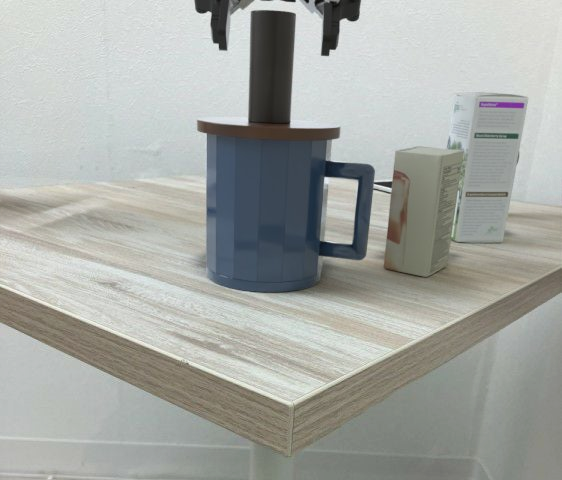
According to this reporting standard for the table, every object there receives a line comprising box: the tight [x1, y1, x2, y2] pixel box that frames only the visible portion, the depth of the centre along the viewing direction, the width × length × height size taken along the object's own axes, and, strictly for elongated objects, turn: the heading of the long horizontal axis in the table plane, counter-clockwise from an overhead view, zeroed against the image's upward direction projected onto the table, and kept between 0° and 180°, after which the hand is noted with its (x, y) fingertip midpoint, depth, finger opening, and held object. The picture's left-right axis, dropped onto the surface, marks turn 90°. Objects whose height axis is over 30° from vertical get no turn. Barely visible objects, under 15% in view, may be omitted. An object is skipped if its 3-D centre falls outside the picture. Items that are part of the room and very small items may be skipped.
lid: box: [196, 9, 342, 141], centre depth 47 cm, size 11×11×8 cm
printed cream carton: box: [383, 146, 464, 278], centre depth 55 cm, size 5×4×10 cm
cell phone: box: [373, 178, 393, 194], centre depth 97 cm, size 8×16×1 cm, turn 31°
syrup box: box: [446, 91, 529, 244], centre depth 68 cm, size 6×6×14 cm
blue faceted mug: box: [205, 133, 376, 293], centre depth 50 cm, size 13×9×11 cm
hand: (274, 45), depth 53 cm, fingers open, 8 cm apart
